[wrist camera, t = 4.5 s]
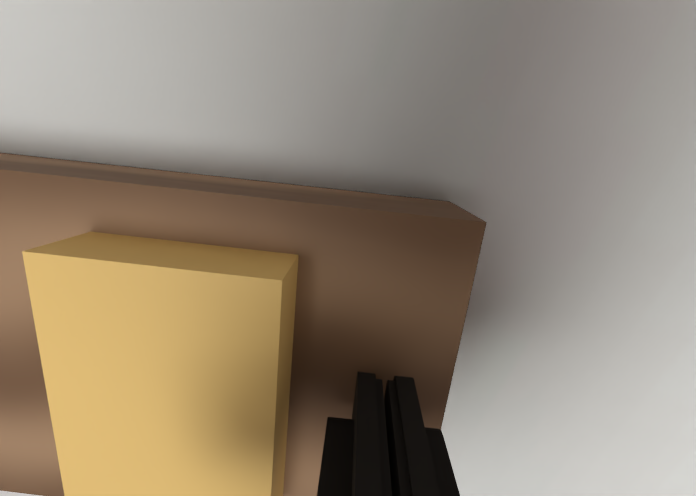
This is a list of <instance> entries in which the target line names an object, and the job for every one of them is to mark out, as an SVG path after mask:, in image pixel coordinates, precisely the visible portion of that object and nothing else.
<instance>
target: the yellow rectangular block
mask: <svg viewBox="0 0 696 496" xmlns="http://www.w3.org/2000/svg"><path fill="white" fill-rule="evenodd" d="M22 254H23V260H24V266H25V271H26V277H27V283H28V289H29V294H30V300H31V306H32V312H33V317H34V323H35V329H36V335H37V340H38V346H39V352H40V358H41V363H42V369H43V375H44V381H45V386H46V392H47V398H48V404H49V409H50V415H51V421H52V427H53V432H54V438H55V444H56V450H57V455H58V461H59V467H60V473H61V478H62V484H63V490H64V496H283V488H284V473H285V458H286V442H287V427H288V411H289V396H290V380H291V365H292V349H293V334H294V319H295V303H296V288H297V272H298V257H299V255H296V254H287V253H278V252H269V251H260V250H251V249H242V248H233V247H224V246H215V245H206V244H197V243H188V242H179V241H171V240H162V239H153V238H144V237H135V236H126V235H117V234H108V233H99V232H87V233H84V234H80V235H77V236H73V237H70V238H66V239H63V240H60V241H56V242H53V243H49V244H46V245H42V246H39V247H35V248H32V249H28V250H25V251H22Z"/></svg>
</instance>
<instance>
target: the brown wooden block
mask: <svg viewBox="0 0 696 496" xmlns="http://www.w3.org/2000/svg"><path fill="white" fill-rule="evenodd" d="M485 227H486V222H485V221H483V220H482V219H480V218H478V217H476V216H474V215H473V214H471V213H469V212H467V211H466V210H464V209H462V208H460V207H458V206H457V205H455V204H453V203H451V202H449V201H440V200H431V199H421V198H412V197H403V196H394V195H385V194H375V193H366V192H357V191H348V190H338V189H329V188H320V187H311V186H302V185H292V184H283V183H274V182H265V181H255V180H246V179H237V178H228V177H219V176H209V175H200V174H191V173H182V172H172V171H163V170H154V169H145V168H136V167H126V166H117V165H108V164H99V163H89V162H80V161H71V160H62V159H53V158H43V157H34V156H25V155H16V154H6V153H0V490H2V491H10V492H18V493H26V494H34V495H43V496H64V490H63V484H62V478H61V473H60V467H59V461H58V455H57V450H56V444H55V438H54V432H53V427H52V421H51V415H50V409H49V404H48V398H47V392H46V386H45V381H44V375H43V369H42V363H41V358H40V352H39V346H38V340H37V335H36V329H35V323H34V317H33V312H32V306H31V300H30V294H29V289H28V283H27V277H26V271H25V266H24V260H23V254H22V251H25V250H28V249H32V248H35V247H39V246H42V245H46V244H49V243H53V242H56V241H60V240H63V239H66V238H70V237H73V236H77V235H80V234H84V233H87V232H99V233H108V234H117V235H126V236H135V237H144V238H153V239H162V240H171V241H179V242H188V243H197V244H206V245H215V246H224V247H233V248H242V249H251V250H260V251H269V252H278V253H287V254H296V255H299V257H298V272H297V288H296V303H295V319H294V334H293V349H292V365H291V380H290V396H289V411H288V427H287V442H286V458H285V473H284V488H283V496H317V491H318V483H319V476H320V469H321V461H322V454H323V446H324V439H325V432H326V424H327V418H328V417H336V418H345V419H352V413H353V404H354V396H355V387H356V378H357V372H366V373H375V374H376V379H382V382H383V393H384V397H385V390H386V384H387V380H393V379H394V376H404V377H413V378H414V382H415V386H416V391H417V395H418V399H419V404H420V408H421V413H422V417H423V422H424V426H425V427H428V428H437V429H440V430H441V426H442V421H443V417H444V412H445V408H446V403H447V399H448V394H449V390H450V385H451V381H452V376H453V372H454V367H455V362H456V358H457V353H458V349H459V344H460V340H461V335H462V331H463V326H464V322H465V317H466V313H467V308H468V304H469V299H470V295H471V290H472V286H473V281H474V276H475V272H476V267H477V263H478V258H479V254H480V249H481V245H482V240H483V236H484V231H485Z"/></svg>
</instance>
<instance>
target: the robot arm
mask: <svg viewBox="0 0 696 496" xmlns="http://www.w3.org/2000/svg"><path fill="white" fill-rule="evenodd" d="M317 496H460V494H459V491H458V487H457V484H456V480H455V477H454V473H453V470H452V466H451V462H450V459H449V455H448V452H447V448H446V445H445V441H444V438H443V435H442V432H441V430H440V429H437V428H428V427H425V426H424V422H423V417H422V413H421V408H420V404H419V399H418V395H417V391H416V386H415V382H414V378H413V377H404V376H394V379H393V380H387V384H386V390H385V397H384V393H383V382H382V379H376V374H375V373H366V372H357V378H356V387H355V396H354V404H353V413H352V419H345V418H336V417H328V418H327V424H326V432H325V439H324V446H323V454H322V461H321V469H320V476H319V483H318V491H317Z"/></svg>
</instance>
